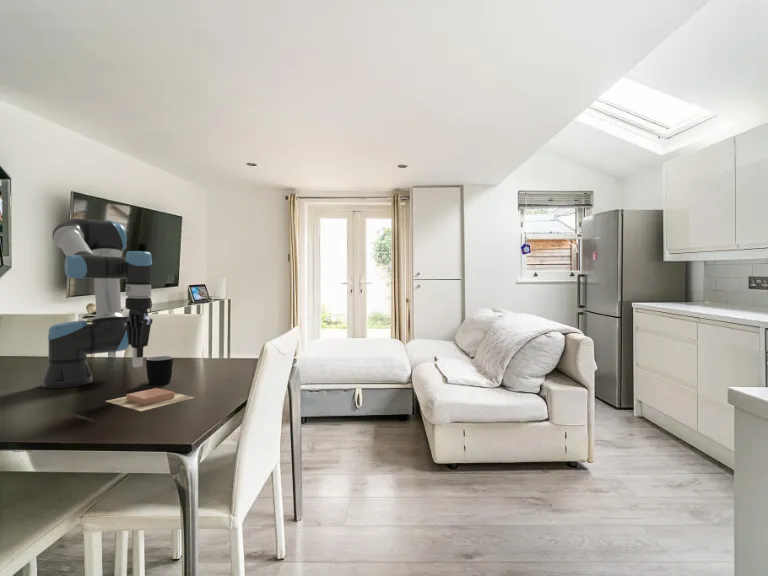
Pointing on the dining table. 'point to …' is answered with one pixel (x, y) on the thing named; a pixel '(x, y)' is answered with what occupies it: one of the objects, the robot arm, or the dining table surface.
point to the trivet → (142, 407)
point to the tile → (150, 396)
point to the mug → (159, 370)
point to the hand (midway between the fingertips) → (137, 366)
